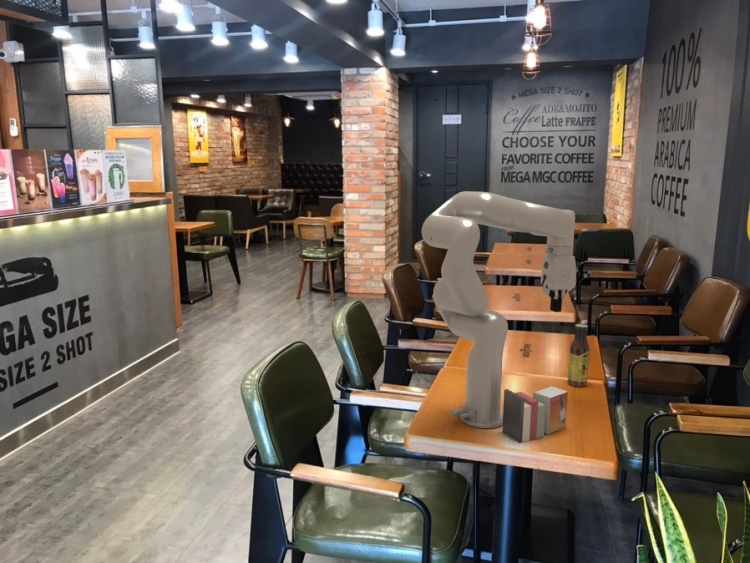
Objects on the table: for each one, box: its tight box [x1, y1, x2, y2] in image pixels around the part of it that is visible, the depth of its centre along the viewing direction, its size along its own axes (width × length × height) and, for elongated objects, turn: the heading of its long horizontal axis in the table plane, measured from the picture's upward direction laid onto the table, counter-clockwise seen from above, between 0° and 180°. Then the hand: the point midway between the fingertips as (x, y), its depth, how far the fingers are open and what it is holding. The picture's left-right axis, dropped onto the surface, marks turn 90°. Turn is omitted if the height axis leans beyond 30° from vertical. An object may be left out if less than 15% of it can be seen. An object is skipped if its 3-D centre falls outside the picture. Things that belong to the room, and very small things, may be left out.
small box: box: [532, 386, 569, 435], centre depth 158 cm, size 8×6×10 cm
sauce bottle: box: [567, 323, 591, 388], centre depth 190 cm, size 6×6×20 cm
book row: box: [501, 388, 545, 444], centre depth 153 cm, size 8×7×12 cm
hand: (555, 311), depth 177 cm, fingers closed
